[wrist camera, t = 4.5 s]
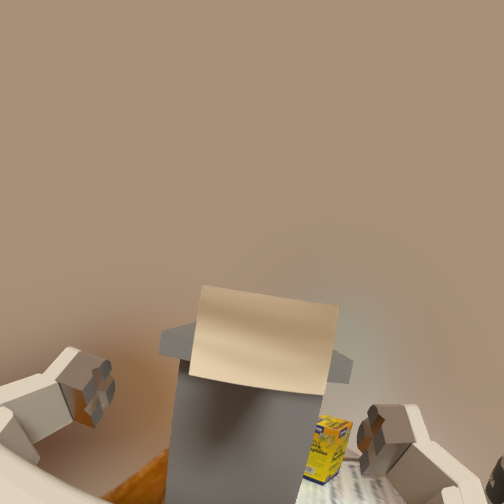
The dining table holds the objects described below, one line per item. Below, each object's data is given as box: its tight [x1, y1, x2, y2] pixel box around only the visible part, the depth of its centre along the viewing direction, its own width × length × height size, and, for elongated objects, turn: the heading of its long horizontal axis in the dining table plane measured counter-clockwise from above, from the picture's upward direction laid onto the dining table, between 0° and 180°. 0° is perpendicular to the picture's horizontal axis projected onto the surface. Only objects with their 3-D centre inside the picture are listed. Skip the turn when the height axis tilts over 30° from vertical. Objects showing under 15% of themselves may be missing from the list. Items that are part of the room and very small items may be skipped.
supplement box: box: [303, 415, 353, 485], centre depth 44 cm, size 6×6×11 cm
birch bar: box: [189, 285, 340, 395], centre depth 21 cm, size 26×4×3 cm, turn 178°
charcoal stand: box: [159, 322, 353, 504], centre depth 25 cm, size 18×12×26 cm, turn 178°
